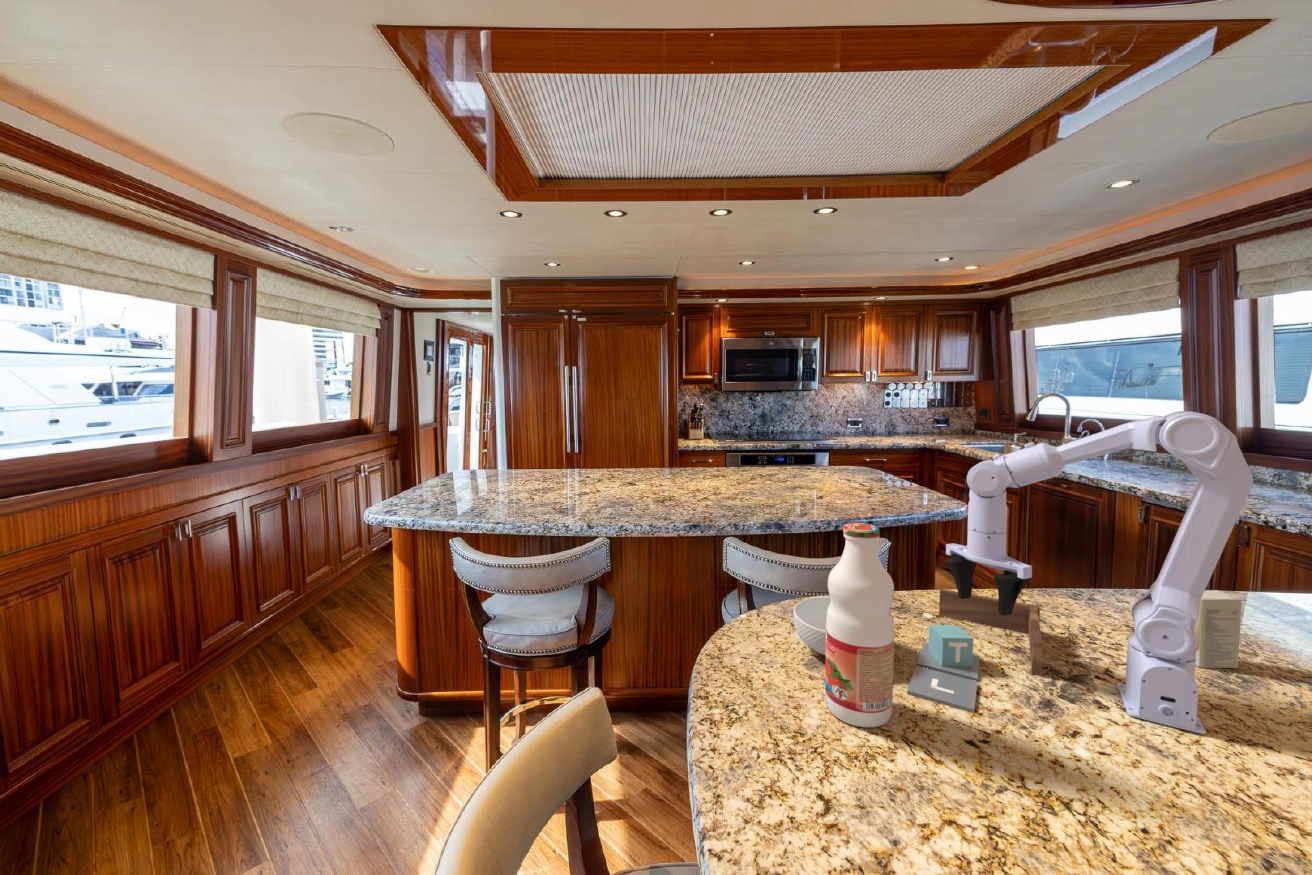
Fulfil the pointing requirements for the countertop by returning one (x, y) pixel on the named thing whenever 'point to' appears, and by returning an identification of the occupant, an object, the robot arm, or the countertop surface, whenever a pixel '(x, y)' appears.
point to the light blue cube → (950, 645)
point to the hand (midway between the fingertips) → (984, 605)
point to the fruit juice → (860, 632)
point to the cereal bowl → (812, 622)
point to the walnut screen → (997, 618)
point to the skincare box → (1218, 630)
